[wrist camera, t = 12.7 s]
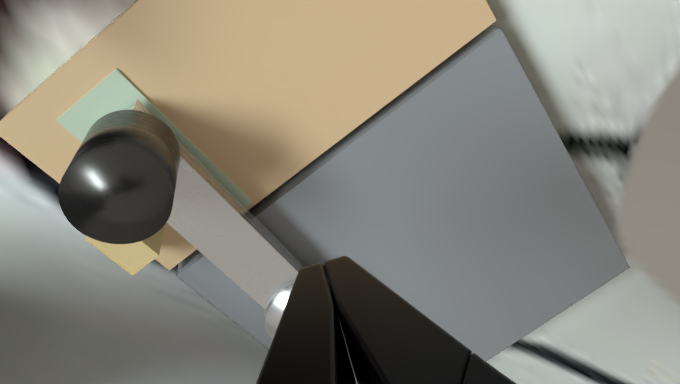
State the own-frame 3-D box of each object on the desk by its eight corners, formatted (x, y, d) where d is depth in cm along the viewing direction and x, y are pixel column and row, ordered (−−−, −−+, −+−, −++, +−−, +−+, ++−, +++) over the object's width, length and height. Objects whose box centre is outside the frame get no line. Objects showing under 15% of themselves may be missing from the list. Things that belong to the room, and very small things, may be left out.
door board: (367, 408, 29) (385, 469, 26) (9, 111, 18) (-35, 155, 15) (608, 248, 27) (659, 294, 24) (361, -197, 16) (395, -219, 13)
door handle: (354, 296, 23) (379, 370, 19) (294, 337, 23) (308, 417, 20) (143, 76, 17) (122, 124, 13) (67, 137, 17) (27, 199, 14)
